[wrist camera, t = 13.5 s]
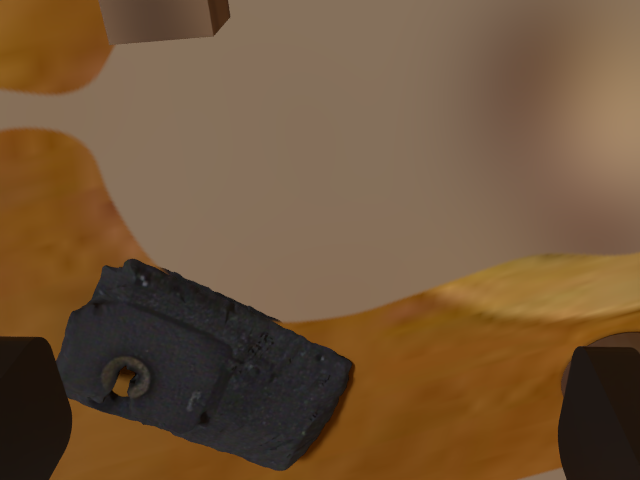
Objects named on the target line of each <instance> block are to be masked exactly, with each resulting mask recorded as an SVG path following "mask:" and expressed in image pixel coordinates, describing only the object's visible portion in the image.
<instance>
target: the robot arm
mask: <svg viewBox="0 0 640 480" xmlns="http://www.w3.org/2000/svg"><path fill="white" fill-rule="evenodd" d="M561 390H562V393H563V397H564V399H563V404H562V409H561V414H560V419H559V425H558V444H559V453H560V459H561V463H562V467H563V470H564V473H565V476H566V479H567V480H640V333H638V332H637V333H622V334H617V335H611V336H609V337H606V338H603V339H600V340H598V341H596V342H594V343H592V344H590V345H588V346H579V347H577V348H576V349H575V351H574V353H573V356H572V360H571V361H570V362H569V364H568V366H567V367H566V369H565V371H564V374H563V377H562V381H561ZM71 429H72V412H71V407H70V404H69V401H68V398H67V395H66V392H65V389H64V386H63V382H62V379H61V376H60V373H59V370H58V367H57V364H56V361H55V358H54V355H53V352H52V349H51V346H50V344H49V343H48V341H47V340H46V339H44V338H42V337H2V336H0V480H49V478H50V477H51V475H52V473H53V471H54V469H55V468H56V466H57V464H58V462H59V460H60V459H61V457H62V455H63V453H64V451H65V449H66V447H67V445H68V442H69V439H70V435H71Z"/></svg>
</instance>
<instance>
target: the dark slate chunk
mask: <svg viewBox="0 0 640 480" xmlns="http://www.w3.org/2000/svg"><path fill="white" fill-rule="evenodd" d="M160 268H161V267H160ZM161 269H162V271H164V272H165V273H164V272H162V271H160V270H159V269H157V268H155V267H152V266H149V265H146V264H144V263H142V262H140V261H138V260H136V259H130V260H127V261H126V262H124V266H123V267H122V268H120V267H119V268H114V267H109V266H106V265H105V266H104V267H103V268H102V273H101V278H100V280H99V282H98V284H97V287H96V289H95V292H94V294H93V297H92V299H91V301H89V302H88V303H87V304H86V305H85V306H83V307H82V308H80V309H78V310H76V311H73V312H72V313H71V315H70V317H69V320H68V324H67V327H66V330H65V337H64V340H63V343H62V348H61V352H60V353H59V356H58V358H57V360H56V364H57V367H58V370H59V373H60V376H61V379H62V382H63V386H64V389H65V392H66V395H67V397H68V398H69V399H73V400H76V401H78V402H80V403H82V404H83V405H86V406H88V407H91V408H94V409H97V410H99V411H102V412H105V413H109V414H113V415H117V416H120V417H123V418H126V419H129V420H133V421H139V422H141V423H142V424H143V425H151V426H156V427H158V428H160V429H164V430H166V431H170V432H171V433H172V434H173V435H175V436H178V437H182V438H184V439H186V440H188V441H190V442H194V443H198V444H202V445H205V446H209V447H211V448H214V449H216V450H218V451H220V452H227V453H230V454H235V455H237V456H240V457H242V458H244V459H246V460H247V461H250V462H253V463H255V464H258V465H260V466H263V467H268V468H271V469H273V470H278V471H283V470H286V469H288V468H289V467H290V466H291V465H292V464H294V463H295V462H296V461H297V460H298V459H299V458H300V457H301V456H302V455H304V454H305V452H306V451H307V449H308V448H309V446H310V445H311V444H312V443H313V442H314V441H315V440H316V439H317V437H318V436H319V434H320V432H321V430H322V429H323V427H324V426H325V424H326V423H327V422H328V421H329V419H330V418H331V416H332V414H333V412H334V409H335V407H336V406H337V403H338V400H339V396H341V395H342V394H343V392H344V390H345V389H346V386H347V382H348V380H349V375H348V373H349V370H350V368H351V366H352V363H351V362H350V361H349V360H347V359H346V358H345V357H343V356H339V355H338V354H337V353H336V352H335V351H333V350H332V349H330V348H327V347H324V346H321V345H318V344H316V343H311V342H310V341H308V340H307V339H306V338H304V337H303V336H301V335H298V334H296V333H295V332H293V331H291V330H289V329H285V328H283V327H281V326H280V325H278V324H276V323H274V322H281V321H280V320H278V319H276V318H273V317H270V316H267V315H266V314H264V313H262V312H260V311H258V310H256V309H254V308H253V307H251V306H246V305H244V304H242V303H240V302H237V301H236V300H234V299H232V298H229V297H227V296H225V295H223V294H221V293H219V292H214V291H212V290H211V289H210V288H209V287H206V286H203V285H200V284H198V283H196V282H194V281H191V280H188V279H185V278H184V277H182V276H181V275H180V274H178V273H177V272H171V271H169V270H167V269H165V268H161ZM126 365H127V369H128V370H131V371H134V372H135V373H136V374H135V376H134V377H133V378H132V379H131V380H130V383H129V388H128V391H127V393H128V395H129V397H121V396H118V395H116V394H115V393H113V392H112V389H113V387H114V385H115V383H116V380H117V377H118V375H119V372H120V370H121V369H122V368H123V367H124V366H126Z"/></svg>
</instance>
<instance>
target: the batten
mask: <svg viewBox="0 0 640 480" xmlns="http://www.w3.org/2000/svg"><path fill="white" fill-rule="evenodd" d="M99 4H100V8H101V12H102V16H103V20H104V25H105V29H106V33H107V37H108V41H109V45H115V44H127V43H139V42H151V41H163V40H175V39H186V38H199V37H211V36H214V35H215V34H216V33H217V32H218V31H219V29H220V28H221V27H222V26H223V25H224V23H225V22H226V21H227V20H228V19H229V18H230V11H229V4H228V0H99Z"/></svg>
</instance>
